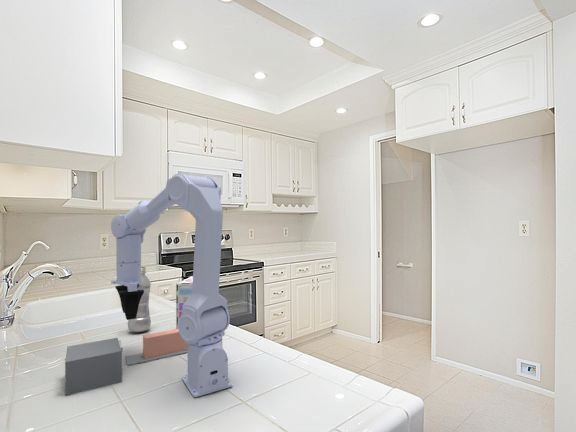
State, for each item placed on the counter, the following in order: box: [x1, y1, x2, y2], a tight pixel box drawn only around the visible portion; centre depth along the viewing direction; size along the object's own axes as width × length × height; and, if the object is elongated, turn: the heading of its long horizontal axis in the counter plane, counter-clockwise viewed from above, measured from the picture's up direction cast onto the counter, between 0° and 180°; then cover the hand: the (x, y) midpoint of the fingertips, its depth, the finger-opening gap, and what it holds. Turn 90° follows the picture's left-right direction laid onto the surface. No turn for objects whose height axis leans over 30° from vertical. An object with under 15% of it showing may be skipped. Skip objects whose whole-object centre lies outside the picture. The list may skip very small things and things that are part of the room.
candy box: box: [175, 275, 193, 329], centre depth 102 cm, size 14×6×16 cm, turn 179°
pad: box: [124, 350, 187, 367], centre depth 84 cm, size 6×14×1 cm, turn 122°
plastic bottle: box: [127, 266, 152, 333], centre depth 104 cm, size 6×7×20 cm
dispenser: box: [64, 337, 124, 396], centre depth 72 cm, size 10×10×6 cm
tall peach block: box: [142, 328, 187, 359], centre depth 86 cm, size 3×11×5 cm, turn 123°
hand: (129, 315), depth 84 cm, fingers open, 7 cm apart
